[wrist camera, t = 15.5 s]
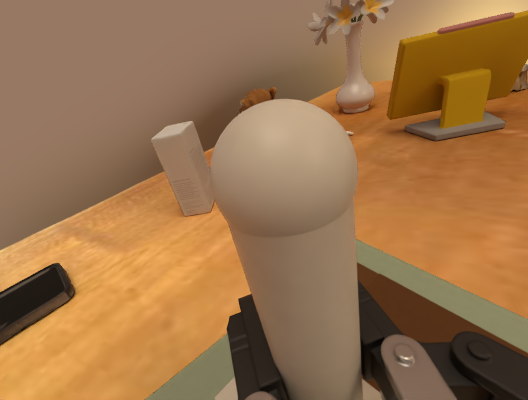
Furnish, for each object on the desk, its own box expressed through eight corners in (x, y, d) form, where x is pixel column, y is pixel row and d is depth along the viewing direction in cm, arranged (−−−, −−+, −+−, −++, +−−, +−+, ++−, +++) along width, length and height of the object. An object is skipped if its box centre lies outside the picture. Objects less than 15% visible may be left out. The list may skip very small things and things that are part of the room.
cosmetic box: (193, 196, 44) (165, 125, 38) (218, 192, 44) (193, 119, 38) (183, 217, 39) (148, 139, 33) (210, 213, 38) (181, 132, 32)
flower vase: (327, 105, 78) (318, 2, 66) (396, 100, 68) (401, -23, 56) (309, 119, 69) (294, 4, 57) (385, 116, 59) (387, -26, 47)
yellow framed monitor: (498, 111, 48) (522, 7, 41) (536, 122, 42) (573, -1, 34) (385, 133, 50) (388, 38, 43) (405, 147, 44) (411, 36, 36)
